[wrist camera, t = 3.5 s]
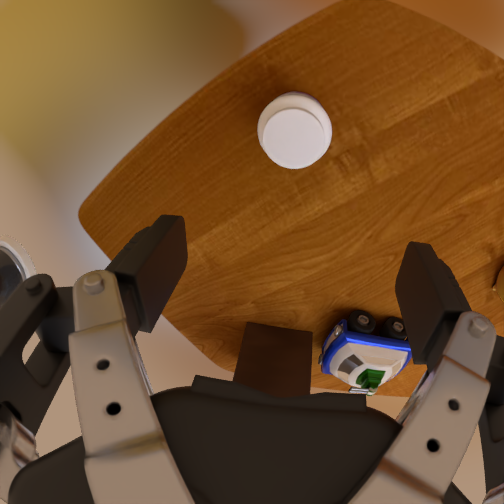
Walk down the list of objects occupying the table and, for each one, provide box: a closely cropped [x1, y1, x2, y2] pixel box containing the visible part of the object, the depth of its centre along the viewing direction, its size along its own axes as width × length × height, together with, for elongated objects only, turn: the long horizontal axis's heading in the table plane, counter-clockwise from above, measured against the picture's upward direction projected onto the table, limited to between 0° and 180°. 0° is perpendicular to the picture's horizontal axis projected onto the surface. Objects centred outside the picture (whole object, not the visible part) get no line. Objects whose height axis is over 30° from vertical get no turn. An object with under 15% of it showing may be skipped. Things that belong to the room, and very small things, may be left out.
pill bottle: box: [258, 92, 332, 169], centre depth 22 cm, size 5×5×10 cm
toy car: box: [318, 310, 412, 396], centre depth 36 cm, size 9×12×10 cm
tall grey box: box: [233, 322, 313, 398], centre depth 32 cm, size 9×9×28 cm
